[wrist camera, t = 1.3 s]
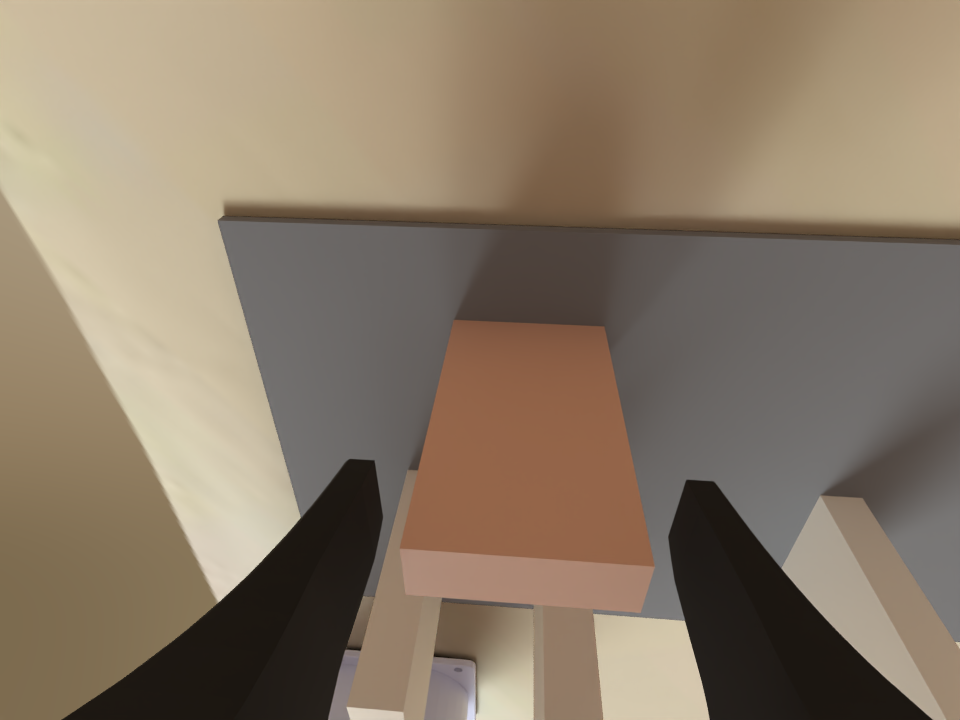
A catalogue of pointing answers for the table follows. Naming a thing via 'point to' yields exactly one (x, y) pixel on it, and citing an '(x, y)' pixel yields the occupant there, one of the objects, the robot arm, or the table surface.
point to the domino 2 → (527, 475)
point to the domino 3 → (565, 665)
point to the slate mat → (636, 364)
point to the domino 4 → (876, 603)
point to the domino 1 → (396, 639)
